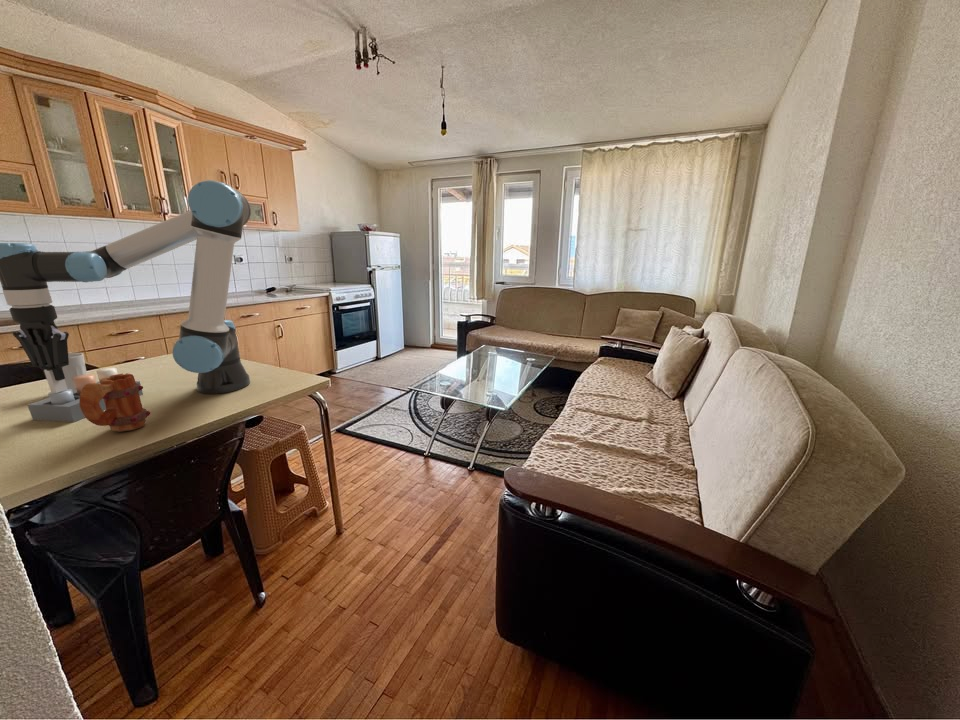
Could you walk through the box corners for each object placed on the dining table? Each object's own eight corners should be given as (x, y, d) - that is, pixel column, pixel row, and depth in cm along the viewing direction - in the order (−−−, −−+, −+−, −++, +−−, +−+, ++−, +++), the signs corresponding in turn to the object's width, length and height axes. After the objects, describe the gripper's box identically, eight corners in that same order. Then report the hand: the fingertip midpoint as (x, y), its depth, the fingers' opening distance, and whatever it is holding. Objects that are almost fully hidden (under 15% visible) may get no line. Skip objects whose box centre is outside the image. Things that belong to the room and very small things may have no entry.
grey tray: (143, 394, 119) (139, 381, 118) (74, 422, 100) (69, 406, 99) (108, 392, 120) (104, 379, 118) (32, 419, 101) (27, 404, 99)
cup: (70, 397, 116) (58, 360, 112) (51, 394, 117) (39, 358, 114) (100, 388, 123) (90, 353, 120) (81, 386, 125) (71, 351, 121)
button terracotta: (103, 390, 111) (98, 374, 109) (87, 395, 106) (82, 379, 105) (89, 389, 111) (84, 373, 109) (73, 395, 107) (67, 378, 105)
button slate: (81, 405, 105) (76, 389, 104) (64, 412, 101) (58, 395, 99) (67, 405, 105) (61, 388, 104) (49, 411, 101) (43, 394, 100)
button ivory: (124, 382, 117) (120, 367, 115) (110, 387, 113) (106, 372, 111) (111, 382, 117) (107, 367, 116) (96, 387, 113) (92, 371, 111)
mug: (128, 420, 102) (114, 368, 97) (160, 419, 103) (147, 368, 98) (77, 447, 88) (58, 388, 84) (114, 446, 89) (97, 388, 84)
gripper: (71, 304, 98) (96, 387, 105) (26, 302, 99) (53, 385, 105) (37, 308, 91) (66, 397, 98) (-12, 306, 91) (20, 395, 98)
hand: (59, 390), depth 101 cm, fingers closed
